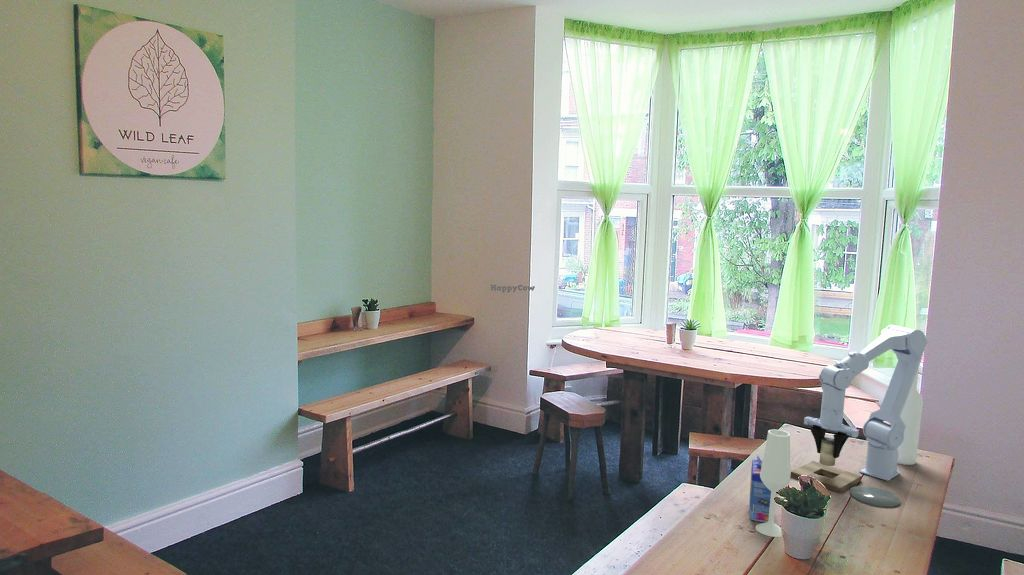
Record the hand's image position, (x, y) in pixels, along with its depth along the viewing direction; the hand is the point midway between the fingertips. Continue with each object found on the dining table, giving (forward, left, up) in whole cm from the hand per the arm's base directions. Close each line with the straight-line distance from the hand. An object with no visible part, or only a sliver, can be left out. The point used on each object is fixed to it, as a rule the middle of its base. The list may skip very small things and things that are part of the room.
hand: (827, 454), depth 193 cm
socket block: (0, 0, -7) cm, 7 cm away
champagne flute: (+43, +6, -7) cm, 44 cm away
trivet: (+2, +14, -7) cm, 16 cm away
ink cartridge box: (+37, 0, -7) cm, 38 cm away
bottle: (-35, +8, -7) cm, 37 cm away
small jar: (0, 0, -3) cm, 2 cm away
